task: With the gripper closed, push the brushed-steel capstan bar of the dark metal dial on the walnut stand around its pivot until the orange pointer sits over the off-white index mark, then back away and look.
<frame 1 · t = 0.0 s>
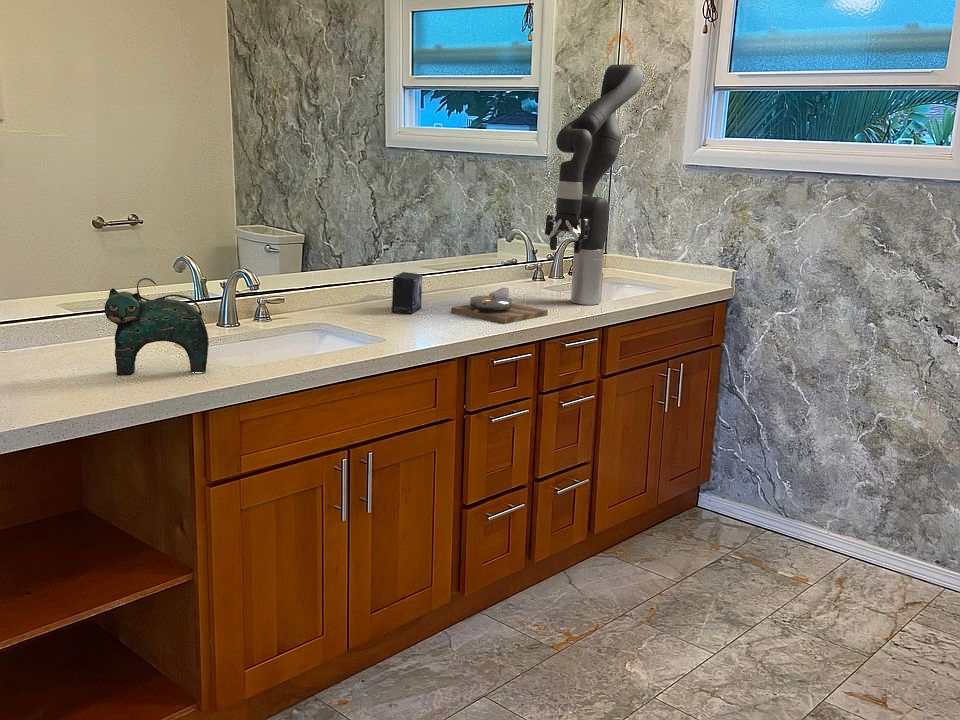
hand: (564, 251, 288), 17 cm above the worktop, tool pointing down, fingers open, 8 cm apart
small box: (407, 311, 276), on the worktop
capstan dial: (494, 299, 278), point 4 cm above the worktop, hinge at 20.0°
ceramic cat: (159, 373, 199), on the worktop
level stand: (499, 313, 277), on the worktop
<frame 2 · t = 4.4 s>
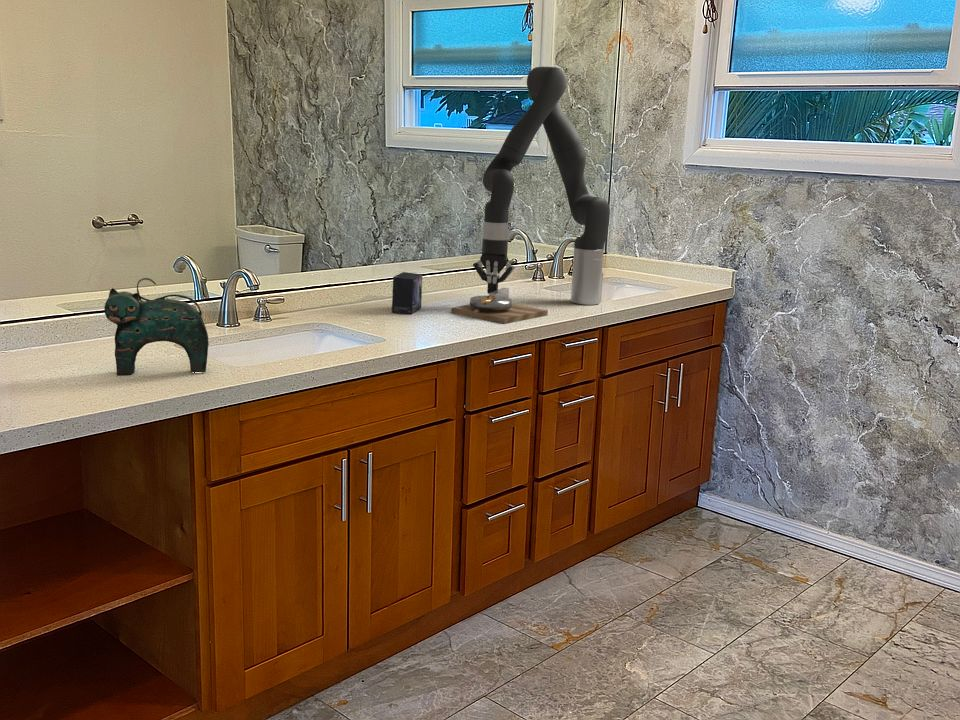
hand: (492, 295, 284), 4 cm above the worktop, tool pointing down, fingers closed
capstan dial: (494, 299, 278), point 4 cm above the worktop, hinge at 19.7°, touching gripper
everything else where it was.
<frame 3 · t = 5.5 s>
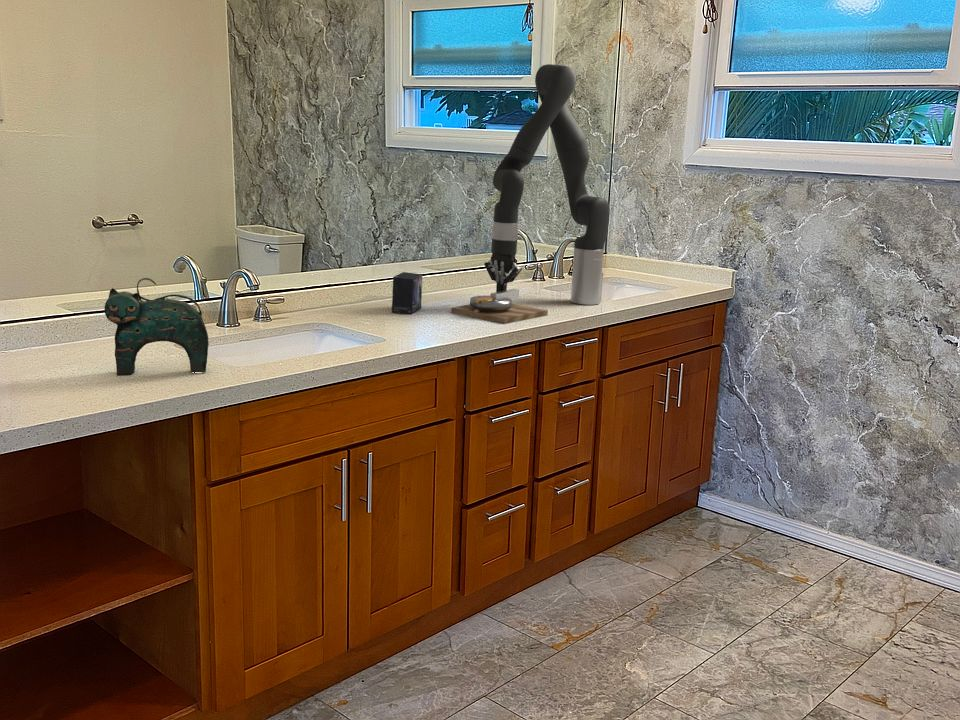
hand: (501, 295, 284), 4 cm above the worktop, tool pointing down, fingers closed
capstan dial: (496, 300, 277), point 4 cm above the worktop, hinge at 4.4°, touching gripper
everything else where it was.
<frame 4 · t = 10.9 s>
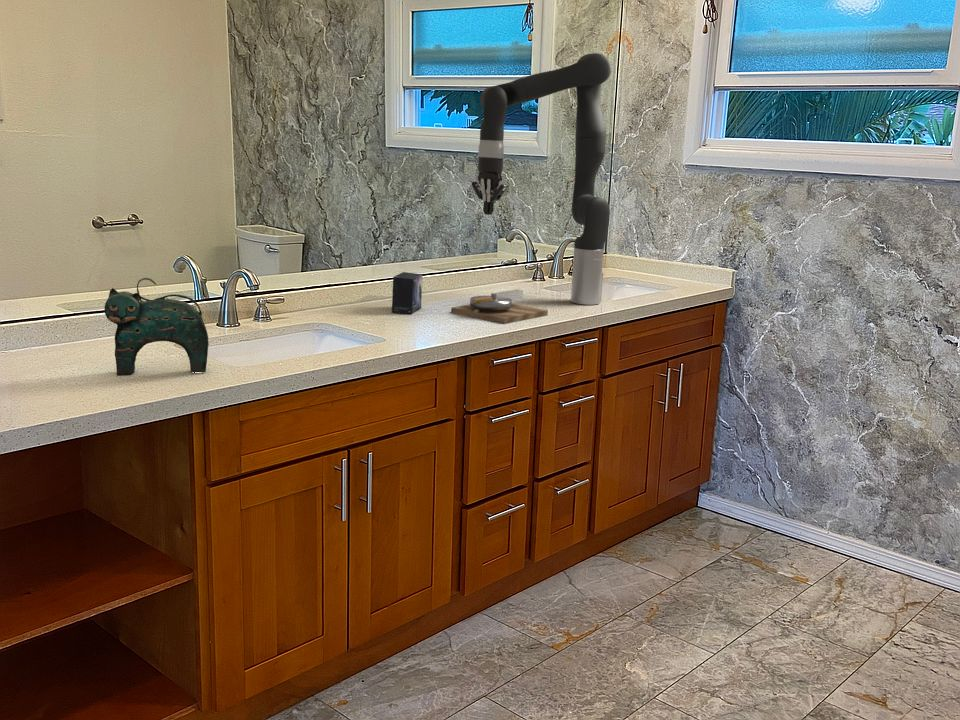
hand: (488, 214, 289), 27 cm above the worktop, tool pointing down, fingers closed
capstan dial: (497, 300, 277), point 4 cm above the worktop, hinge at -2.4°
everything else where it was.
at the end: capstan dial at -2° (first picture: +20°); small box moved 0.3 cm from its start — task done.
